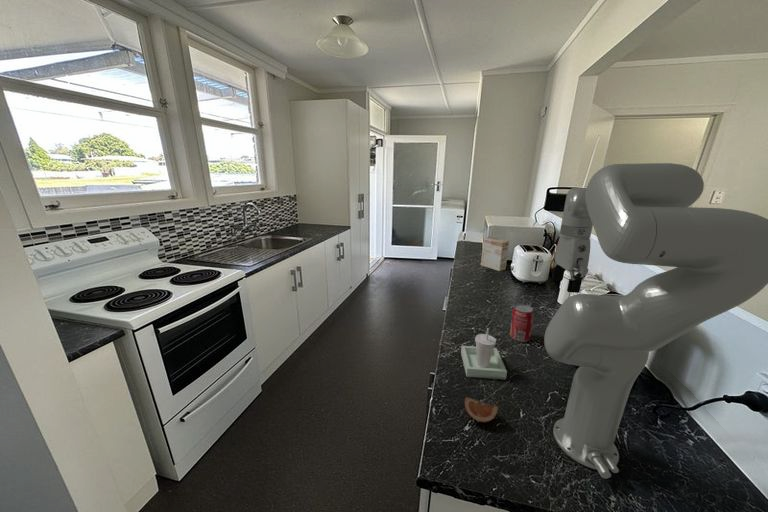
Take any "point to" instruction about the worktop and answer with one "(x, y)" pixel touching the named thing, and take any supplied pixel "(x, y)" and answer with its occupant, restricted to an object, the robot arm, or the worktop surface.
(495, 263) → the coffeecake box
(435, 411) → the worktop surface
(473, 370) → the tray
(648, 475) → the worktop surface
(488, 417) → the fruit slice
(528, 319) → the soda can
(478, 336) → the smoothie
